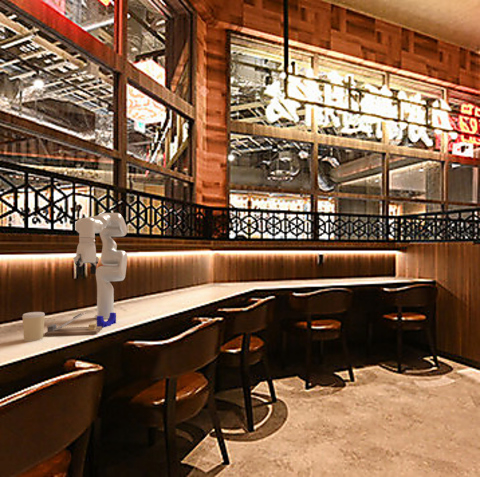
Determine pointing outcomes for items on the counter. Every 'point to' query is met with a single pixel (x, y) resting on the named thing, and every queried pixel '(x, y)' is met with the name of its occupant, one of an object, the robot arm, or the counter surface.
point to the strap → (70, 320)
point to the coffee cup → (33, 326)
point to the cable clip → (106, 323)
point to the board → (73, 330)
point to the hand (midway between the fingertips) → (86, 274)
